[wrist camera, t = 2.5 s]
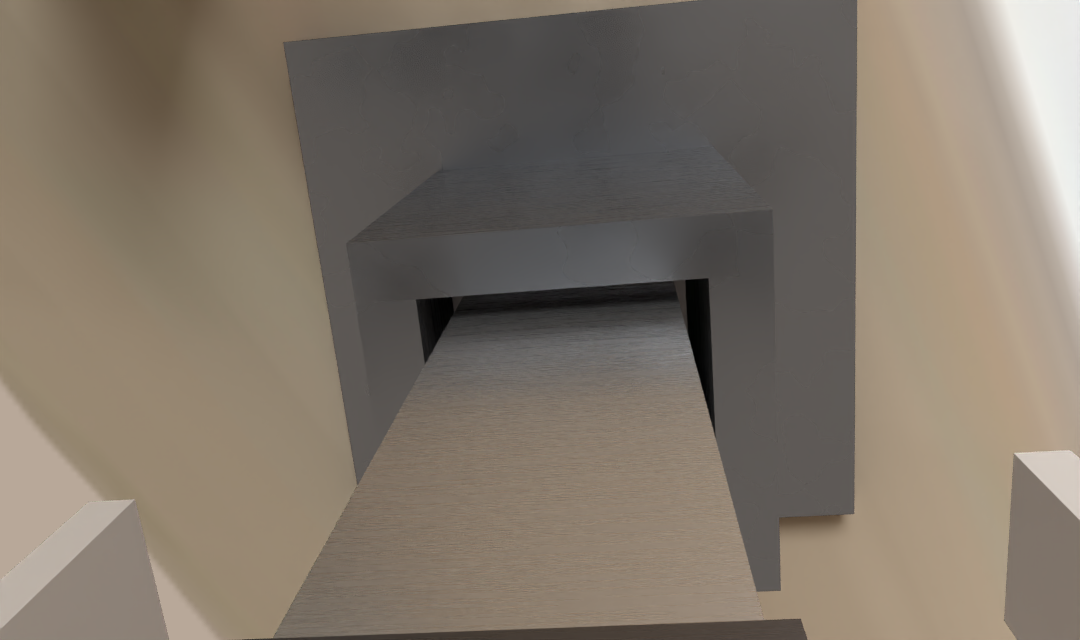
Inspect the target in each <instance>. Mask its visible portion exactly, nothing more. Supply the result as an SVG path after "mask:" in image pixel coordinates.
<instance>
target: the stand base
mask: <svg viewBox="0 0 1080 640" xmlns="http://www.w3.org/2000/svg"><path fill="white" fill-rule="evenodd" d="M283 43H284V49H285V55H286V61H287V67H288V73H289V79H290V85H291V91H292V97H293V102H294V108H295V114H296V120H297V126H298V132H299V138H300V144H301V150H302V156H303V162H304V168H305V174H306V180H307V186H308V192H309V198H310V204H311V210H312V216H313V222H314V228H315V234H316V240H317V246H318V252H319V258H320V264H321V270H322V276H323V282H324V288H325V294H326V300H327V306H328V312H329V317H330V323H331V329H332V335H333V341H334V347H335V353H336V359H337V365H338V371H339V377H340V383H341V389H342V395H343V401H344V407H345V413H346V419H347V425H348V431H349V437H350V443H351V449H352V455H353V461H354V467H355V473H356V479H357V485H358V484H359V482H360V480H361V479H362V477H363V475H364V473H365V471H366V470H367V468H368V466H369V464H370V463H371V461H372V459H373V457H374V455H375V454H376V452H377V450H378V448H379V446H380V445H381V443H382V441H383V439H384V437H385V436H386V434H387V432H388V430H389V428H390V427H391V425H392V423H393V421H394V419H395V418H396V416H397V414H398V412H399V410H400V409H401V407H402V405H403V403H404V402H405V400H406V398H407V396H408V394H409V393H410V391H411V389H412V387H413V385H414V384H415V382H416V380H417V378H418V376H419V375H420V373H421V371H422V369H423V367H424V366H425V364H426V362H427V360H428V358H429V357H430V355H431V353H432V351H433V349H434V348H435V346H436V344H437V342H438V341H439V339H440V337H441V335H442V333H443V332H444V330H445V328H446V326H447V324H448V323H449V321H450V319H451V317H452V315H453V314H454V306H453V298H452V297H456V296H470V295H483V294H497V293H511V292H525V291H539V290H552V289H566V288H580V287H594V286H608V285H621V284H635V283H649V282H663V281H677V280H685V286H686V306H687V326H688V337H689V341H690V345H691V349H692V352H693V356H694V360H695V363H696V367H697V371H698V375H699V378H700V382H701V386H702V390H703V393H704V397H705V401H706V405H707V408H708V412H709V416H710V420H711V423H712V427H713V431H714V435H715V438H716V442H717V446H718V450H719V453H720V457H721V461H722V464H723V468H724V472H725V476H726V479H727V483H728V487H729V491H730V494H731V498H732V502H733V506H734V509H735V513H736V517H737V521H738V524H739V528H740V532H741V536H742V539H743V543H744V547H745V551H746V554H747V558H748V562H749V566H750V569H751V573H752V577H753V580H754V584H755V588H756V592H758V591H781V584H780V536H779V518H780V517H801V516H822V515H843V514H854V452H855V273H856V95H857V0H698V1H688V2H678V3H668V4H658V5H648V6H638V7H629V8H619V9H609V10H599V11H589V12H579V13H569V14H559V15H549V16H539V17H530V18H520V19H510V20H500V21H490V22H480V23H470V24H460V25H450V26H440V27H431V28H421V29H411V30H401V31H391V32H381V33H371V34H361V35H351V36H341V37H332V38H322V39H312V40H302V41H292V42H283Z"/></svg>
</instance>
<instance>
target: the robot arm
mask: <svg viewBox="0 0 1080 640" xmlns="http://www.w3.org/2000/svg"><path fill="white" fill-rule="evenodd" d="M1004 621H1005V622H1006V624H1007V625H1008V627H1009V628H1010V630H1011V631H1012V633H1013V634H1014V636H1015V637H1016V639H1017V640H1080V458H1079V457H1078V456H1076V455H1075V454H1074V453H1073V452H1072V451H1071V450H1063V451H1044V452H1025V453H1014V459H1013V476H1012V493H1011V511H1010V528H1009V545H1008V562H1007V580H1006V597H1005V614H1004ZM0 640H169V637H168V633H167V629H166V625H165V621H164V617H163V613H162V609H161V605H160V600H159V597H158V592H157V588H156V584H155V580H154V576H153V572H152V567H151V563H150V559H149V555H148V551H147V547H146V543H145V539H144V534H143V530H142V526H141V522H140V518H139V514H138V510H137V506H136V501H135V499H131V500H112V501H93V502H88V503H86V504H85V505H84V506H83V507H82V508H81V509H80V510H79V511H77V512H76V513H75V514H74V515H73V516H72V517H71V518H69V519H68V520H67V521H66V522H65V523H64V524H63V525H62V526H60V527H59V528H58V529H57V530H56V531H55V532H54V533H53V534H51V535H50V536H49V537H48V538H47V539H46V540H45V541H44V542H42V543H41V544H40V545H39V546H38V547H37V548H36V549H34V550H33V551H32V552H31V553H30V554H29V555H28V556H26V557H25V558H24V559H23V560H22V561H21V562H20V563H19V564H17V566H15V567H14V568H13V569H12V570H11V571H10V572H8V573H7V574H6V575H5V576H4V577H3V578H2V579H1V580H0Z"/></svg>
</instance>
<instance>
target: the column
mask: <svg viewBox="0 0 1080 640" xmlns="http://www.w3.org/2000/svg"><path fill="white" fill-rule="evenodd" d="M452 298H453V306H454V314H453V315H452V317H451V319H450V321H449V323H448V324H447V326H446V328H445V330H444V332H443V333H442V335H441V337H440V339H439V341H438V342H437V344H436V346H435V348H434V349H433V351H432V353H431V355H430V357H429V358H428V360H427V362H426V364H425V366H424V367H423V369H422V371H421V373H420V375H419V376H418V378H417V380H416V382H415V384H414V385H413V387H412V389H411V391H410V393H409V394H408V396H407V398H406V400H405V402H404V403H403V405H402V407H401V409H400V410H399V412H398V414H397V416H396V418H395V419H394V421H393V423H392V425H391V427H390V428H389V430H388V432H387V434H386V436H385V437H384V439H383V441H382V443H381V445H380V446H379V448H378V450H377V452H376V454H375V455H374V457H373V459H372V461H371V463H370V464H369V466H368V468H367V470H366V471H365V473H364V475H363V477H362V479H361V480H360V482H359V484H358V486H357V488H356V489H355V491H354V493H353V495H352V497H351V498H350V500H349V502H348V504H347V506H346V507H345V509H344V511H343V513H342V515H341V516H340V518H339V520H338V522H337V524H336V525H335V527H334V529H333V531H332V533H331V534H330V536H329V538H328V540H327V541H326V543H325V545H324V547H323V549H322V550H321V552H320V554H319V556H318V558H317V559H316V561H315V563H314V565H313V567H312V568H311V570H310V572H309V574H308V576H307V577H306V579H305V581H304V583H303V585H302V586H301V588H300V590H299V592H298V594H297V595H296V597H295V599H294V601H293V602H292V604H291V606H290V608H289V610H288V611H287V613H286V615H285V617H284V619H283V620H282V622H281V624H280V626H279V628H278V629H277V631H276V633H275V635H274V637H273V638H271V639H244V640H807V637H806V634H805V631H804V628H803V625H802V622H801V619H782V620H764V618H763V614H762V610H761V607H760V603H759V599H758V595H757V592H756V588H755V584H754V580H753V577H752V573H751V569H750V566H749V562H748V558H747V554H746V551H745V547H744V543H743V539H742V536H741V532H740V528H739V524H738V521H737V517H736V513H735V509H734V506H733V502H732V498H731V494H730V491H729V487H728V483H727V479H726V476H725V472H724V468H723V464H722V461H721V457H720V453H719V450H718V446H717V442H716V438H715V435H714V431H713V427H712V423H711V420H710V416H709V412H708V408H707V405H706V401H705V397H704V393H703V390H702V386H701V382H700V378H699V375H698V371H697V367H696V363H695V360H694V356H693V352H692V349H691V345H690V341H689V337H688V326H687V306H686V286H685V280H677V281H663V282H649V283H635V284H621V285H608V286H594V287H580V288H566V289H552V290H539V291H525V292H511V293H497V294H483V295H470V296H456V297H452Z"/></svg>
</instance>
